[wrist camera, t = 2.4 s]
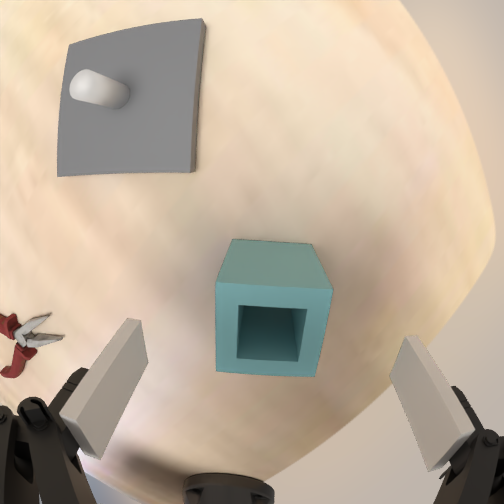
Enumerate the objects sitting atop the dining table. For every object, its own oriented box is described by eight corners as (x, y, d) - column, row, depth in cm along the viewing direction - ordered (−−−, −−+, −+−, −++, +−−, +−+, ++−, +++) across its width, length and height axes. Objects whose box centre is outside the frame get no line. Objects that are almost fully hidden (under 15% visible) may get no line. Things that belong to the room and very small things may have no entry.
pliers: (87, 364, 28) (77, 378, 26) (11, 372, 31) (2, 381, 29) (36, 274, 25) (21, 283, 22) (-26, 308, 28) (-36, 315, 25)
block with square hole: (301, 312, 24) (314, 376, 16) (230, 308, 24) (216, 371, 17) (311, 244, 22) (333, 289, 14) (232, 238, 22) (215, 282, 15)
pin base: (195, 171, 21) (166, 177, 15) (67, 175, 21) (17, 185, 15) (205, 26, 17) (185, -14, 11) (78, 48, 17) (34, 30, 11)
